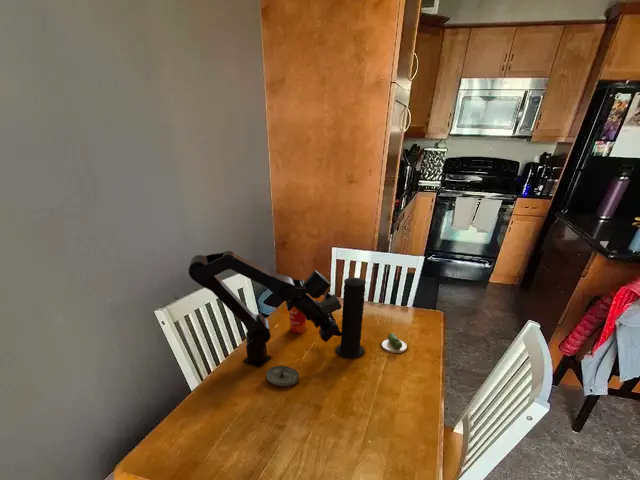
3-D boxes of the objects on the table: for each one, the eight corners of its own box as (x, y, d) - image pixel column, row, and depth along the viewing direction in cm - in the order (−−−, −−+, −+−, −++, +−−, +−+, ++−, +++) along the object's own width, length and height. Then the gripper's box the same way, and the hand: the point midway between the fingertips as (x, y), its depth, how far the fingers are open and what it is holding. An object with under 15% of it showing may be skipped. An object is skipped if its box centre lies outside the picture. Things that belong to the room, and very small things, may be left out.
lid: (264, 378, 118) (259, 367, 114) (291, 364, 120) (287, 353, 116) (276, 397, 110) (272, 386, 107) (305, 382, 113) (301, 371, 109)
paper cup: (285, 327, 143) (283, 293, 135) (303, 323, 146) (302, 290, 137) (292, 336, 137) (291, 301, 129) (311, 332, 140) (311, 298, 132)
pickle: (410, 351, 129) (412, 342, 127) (386, 354, 128) (387, 345, 126) (401, 339, 136) (402, 330, 134) (378, 341, 135) (379, 332, 133)
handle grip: (364, 359, 125) (364, 344, 133) (371, 285, 109) (371, 273, 118) (335, 357, 126) (336, 342, 134) (338, 283, 110) (340, 271, 118)
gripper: (333, 301, 107) (366, 331, 115) (320, 278, 121) (350, 306, 130) (306, 327, 110) (341, 355, 118) (297, 302, 125) (328, 328, 133)
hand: (340, 334), depth 125 cm, fingers closed
